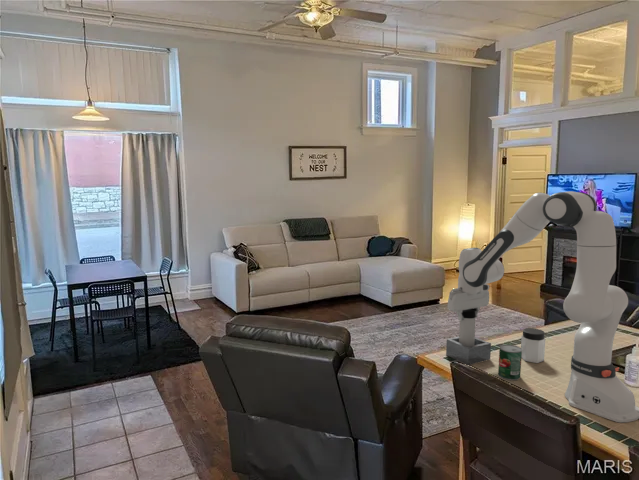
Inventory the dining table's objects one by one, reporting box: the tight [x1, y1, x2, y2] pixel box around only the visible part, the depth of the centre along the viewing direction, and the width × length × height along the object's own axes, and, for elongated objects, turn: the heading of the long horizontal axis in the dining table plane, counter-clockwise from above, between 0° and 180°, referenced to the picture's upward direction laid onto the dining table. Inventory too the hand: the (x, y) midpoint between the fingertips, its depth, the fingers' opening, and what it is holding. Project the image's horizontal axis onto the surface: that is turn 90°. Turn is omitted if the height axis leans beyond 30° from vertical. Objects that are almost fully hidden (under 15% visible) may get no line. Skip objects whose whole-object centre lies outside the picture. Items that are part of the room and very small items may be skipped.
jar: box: [520, 327, 546, 364], centre depth 193 cm, size 9×8×12 cm
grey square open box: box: [445, 336, 492, 366], centre depth 195 cm, size 12×12×7 cm
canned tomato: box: [497, 344, 522, 381], centre depth 177 cm, size 8×8×11 cm
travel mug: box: [458, 308, 477, 347], centre depth 195 cm, size 6×7×20 cm
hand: (467, 318), depth 195 cm, fingers closed on travel mug, 6 cm apart
